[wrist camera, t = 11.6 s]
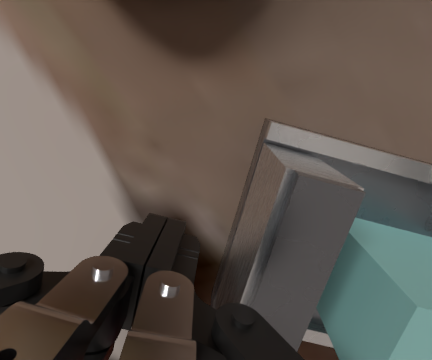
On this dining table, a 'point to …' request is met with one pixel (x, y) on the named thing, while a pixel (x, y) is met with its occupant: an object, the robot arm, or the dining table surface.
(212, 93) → the dining table surface
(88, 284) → the robot arm
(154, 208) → the dining table surface
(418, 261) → the teal block
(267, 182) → the bar
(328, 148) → the vise
